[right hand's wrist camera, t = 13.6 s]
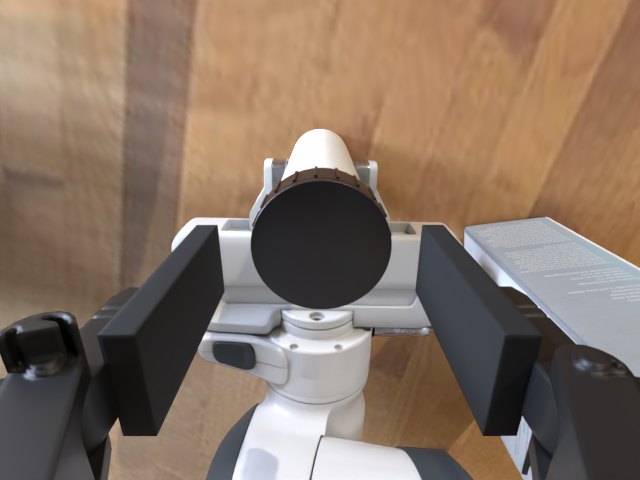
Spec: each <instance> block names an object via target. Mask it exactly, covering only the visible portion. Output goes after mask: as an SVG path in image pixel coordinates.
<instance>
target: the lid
mask: <svg viewBox="0 0 640 480" xmlns="http://www.w3.org/2000/svg"><path fill="white" fill-rule="evenodd" d="M260 208H261V210H260V211H258V213H257V215H256V218H255V220H254V222H253V224H252V226H253V230H252V234H251V243H250V244H251V255H252V260H253V263H254V266H255V268H256V270H257V273H258V274H259V276H260V278H261V279H262V281H263V282H264V283H265V284H266V286H267V287H268V288H269V289H270V290H271V291H272V292H273V293H275V294H276V295H278V296H279V297H280V298H282V299H284V300H285V301H287V302H289V303H292V304H294V305H297V306H300V307H304V308H310V309H333V308H338V307H342V306H345V305H348V304H350V303H353V302H355V301H357V300H358V299H360V298H362V297H363V296H365V295H366V294H367V293H369V292H370V291H371V290H372V289H373V288H374V287H375V286H376V285H377V283H378V282H379V281H380V280H381V278H382V276H383V275H384V273H385V271H386V269H387V267H388V264H389V261H390V257H391V250H392V239H391V236H392V233H391V231H390V228H389V225H388V222H387V220H386V217H387V215H386V213H385V211H384V209H383V207H382V205H381V203H378V201H377V199H376V197H375V195H374V193H373V191H372V189H371V187H369V188H368V187H367V186H366V185H365V184H364V183H363V182H361V181H360V180H359V179H357V176H356V175H353V176H352V175H350V174H348V173H346V172H343V171H340V170H338V168H336V167H335V169H332V168H318V167H317V166H315V168H311V169H306V170H302V171H299V172H298V170H296V171H295V173H294V174H292V175H290V176H288V177H286V178H285V179H284V180H282V181H280V180H279V181H278V182H277V185H276V186H275V187H274V188H273V190H272V191H271V192H270V193H269V195H268V194H266V196H265V198H264V200H263V202H262V204H261V206H260Z"/></svg>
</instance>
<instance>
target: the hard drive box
mask: <svg viewBox="0 0 640 480" xmlns="http://www.w3.org/2000/svg"><path fill="white" fill-rule="evenodd" d="M464 248H465V249H466V250H467V252H468V253H469V254H470V255H471V256H472V257H473V258H474V259H475V260H476V262H477V263H478V264H479V265H480V266H481V267H482V268H483V269H484V270H485V271H486V273H487V274H488V275H489V276H490V277H491V278H492V279H493V280H494V281H495V283H496V284H497V285H498V286H511V287H513V288H515V289H517V290H519V291H520V292H522V293H524V294H526V295H528V296H529V297H530V298H531V299H532V300H533V301H534V302H535V303H536V304H537V305H538V308H541V309H542V310H543V311H544V312H545V313H546V314H547V317H550V318H551V319H552V320H553V321H554V322H555V323H556V324H557V325H558V326H559V327H560V328H561V329H562V330H563V331H564V332H565V333H566V334H567V335H568V336H569V337H570V338H571V339H572V340H573V341H574V342H575V343H576V344H580V345H586V346H590V347H593V348H597V349H600V350H602V351H604V352H606V353H608V354H611V355H613V356H614V357H616V358H617V359H619V360H620V361H622V362H623V363H624V364H625V365H626V366H627V367H628V368H629V369H630V371H631V372H632V373H633V375H634V376H636V377H640V268H639V267H637V266H635V265H633V264H631V263H630V262H628V261H626V260H624V259H622V258H621V257H619V256H617V255H615V254H613V253H612V252H610V251H608V250H606V249H604V248H602V247H601V246H599V245H597V244H595V243H593V242H592V241H590V240H588V239H586V238H584V237H583V236H581V235H579V234H577V233H575V232H574V231H572V230H570V229H568V228H566V227H565V226H563V225H561V224H559V223H557V222H556V221H554V220H552V219H550V218H548V217H542V218H533V219H524V220H515V221H507V222H499V223H490V224H482V225H475V226H468V227H465V231H464ZM531 434H532V431H531V429H530V427H529V426H528V424H527V423H526V421H525V419H524V418H523V416H522V418H521V422H520V425H519V429H518V433H517V436H500V437H501V439H502V441H503V443H504V445H505V446H506V448H507V450H508V452H509V454H510V456H511V458H512V460H513V461H514V463H515V465H516V467H517V469H518V471H519V473H520V474H521V473H522V467H523V463H524V459H525V456H526V452H527V449H528V445H529V441H530V438H531ZM521 476H522V478H523V480H532V472H531V466H530V467H529V470H528V474H527V475H524V474H521Z"/></svg>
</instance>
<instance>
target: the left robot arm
mask: <svg viewBox="0 0 640 480" xmlns="http://www.w3.org/2000/svg"><path fill="white" fill-rule="evenodd" d="M287 165H288V159H274V158H266V160H265V161H264V188H263V190H262V191H261V193H260V195H259V197H258V199H257V201H256V202H255V204H254V206H253V208H252V210H251V211H250V213H249V219H246V218H193V219H192V220H190V221H189V222H188V223H187V224H186V225H185V226H184V227H183V228H182V229H181V230H180V231H179V232H178V234H177V235H176V237H175V238H174V240H173V243H172V252H173V250H174V249H175V248H176V247H177V246H178V245H179V244H180V243H181V242H182V241H183V239H184V238H185V237H186V236H187V235H188V234H189V233H190V232H191V231H192V230H193V228H194V227H195V226H196V225H218V232H219V242H220V251H221V260H222V270H223V279H224V288H225V292H224V294H223V296H222V298H221V300H220V303H219V305H218V307H217V309H216V311H215V313H214V315H213V317H212V320H211V322H210V324H209V326H208V328H207V330H206V332H205V334H204V337H203V339H202V341H201V343H200V345H199V347H198V352H199V355H200V356H201V357H202V358H203V359H204V360H206V361H209V362H212V363H215V364H219V365H223V366H226V367H230V368H234V369H237V370H240V371H243V372H246V373H249V374H252V375H254V376H257V377H259V378H262V379H264V380H265V381H266V384H267V392H266V397H265V400H264V402H263V403H262V404H259V403H258V404H256V405H255V406H253V407H252V408H251V409H250V410H249V411H248V412H247V413H246V414H245V415H244V416H243V417H242V418H241V419H240V420H239V421H238V422H237V423H236V424H235V425H234V426H233V427H232V428H231V429H230V431H229V432H228V433H227V435H226V436H225V438H224V439H223V441H222V442H221V444H220V446H219V448H218V450H217V452H216V454H215V456H214V459H213V461H212V463H211V466H210V469H209V472H208V475H207V478H206V480H473V479H472V477H471V476H470V475H469V474H468V473H467V472H466V471H465V470H464V469H463V468H462V467H461V466H460V464H459V463H458V462H457V461H456V460H454V459H453V458H452V457H451V456H450V455H449V454H448V453H447V452H446V451H444V450H440V449H427V448H414V447H402V446H398V447H396V448H393V447H388V446H382V445H376V444H370V443H364V442H361V439H362V434H363V426H364V418H365V400H364V396H363V393H362V391H363V389H364V387H365V384H366V382H367V378H368V374H369V363H370V352H371V339H372V337H373V336H402V335H409V336H413V337H423V336H428V334H429V332H432V331H434V330H433V328H432V326H431V324H430V322H429V320H428V317H427V315H426V313H425V311H424V309H423V307H422V305H421V303H420V300H419V298H418V296H417V294H416V292H415V288H416V279H417V270H418V260H419V251H420V242H421V232H422V225H444V226H445V227H446V228H447V230H448V231H449V232H450V233H451V234H452V235H453V236H454V237H455V238H456V239H457V241H458V242H459V243H460V244H461V242H460V240H459V239H458V238H457V236H456V235H455V234H454V233H453V232H452V231H451V230H450V229H449V228H448V227H447V226H446V225H445V224H443V223H439V222H391V221H390V216H389V214H388V212H387V210H386V208H385V206H384V204H383V202H382V199H381V197H380V195H379V193H378V191H377V190H376V185H377V172H378V167H377V163H376V161H361V160H354V162H353V165H354V167H355V169H356V172H357V174H358V177H359V179H360V181H361V182H363V183H364V184H365V185H366V186H367V187H368V188H369V187H371V189H372V191H373V193H374V195H375V197H376V199H377V201H378V203H381V205H382V207H383V209H384V211H385V213H386V215H387V217H386V220H387V222H388V225H389V228H390V231H391V233H392V236H391V239H392V250H391V257H390V261H389V264H388V267H387V269H386V271H385V273H384V275H383V276H382V278H381V280H380V281H379V282H378V283H377V285H376V286H375V287H374V288H373V289H372V290H371V291H370V292H369V293H367V294H366V295H365V296H363V297H362V298H360V299H358V300H357V301H355V302H353V303H350V304H348V305H345V306H342V307H338V308H333V309H310V308H304V307H300V306H297V305H294V304H292V303H289V302H287V301H285V300H284V299H282V298H280V297H279V296H278V295H276V294H275V293H273V292H272V291H271V290H270V289H269V288H268V287H267V286H266V284H265V283H264V282H263V281H262V279H261V278H260V276H259V274H258V273H257V270H256V268H255V266H254V263H253V260H252V255H251V244H250V243H251V234H252V230H253V226H252V224H253V222H254V220H255V218H256V215H257V213H258V211H260V210H261V208H260V206H261V204H262V202H263V200H264V198H265V196H266V194H268V195H269V193H270V192H271V191H272V190H273V188H274V187H275V186H276V185H277V182H278V181H279V180H280V181H282V178H283V175H284V173H285V170H286V168H287ZM461 245H462V244H461ZM429 326H430V327H429Z"/></svg>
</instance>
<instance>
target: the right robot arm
mask: <svg viewBox="0 0 640 480" xmlns="http://www.w3.org/2000/svg"><path fill="white" fill-rule="evenodd" d="M224 292H225V288H224V279H223V270H222V260H221V251H220V242H219V232H218V225H196V226H195V227H194V228H193V230H192V231H191V232H190V233H189V234H188V235H187V236H186V237H185V238H184V239H183V241H182V242H181V243H180V244H179V245H178V246H177V247H176V248H175V249H174V250H173V252H172V253H171V254H170V255H169V256H168V257H167V258H166V259H165V260H164V262H163V263H162V264H161V265H160V266H159V267H158V268H157V269H156V270H155V271H154V273H153V274H152V275H151V276H150V277H149V278H148V279H147V280H146V281H145V283H144V284H143V285H142V286H141V287H140V288H128V289H126V290H124V291H122V292H120V293H119V294H117V295H115V296H113V297H112V298H111V299H110V300H109V301H108V302H107V303H106V304H105V305H104V306H103V307H102V310H99V311H98V312H97V313H96V314H95V315H94V316H93V319H90V320H89V321H88V322H87V323H86V324H85V325H84V326H83V327H82V328H81V329H80V330H79V328H78V325H77V321H76V318H75V316H73V315H72V314H70V313H67V312H60V311H57V312H46V313H41V314H37V315H33V316H30V317H27V318H25V319H22V320H20V321H17V322H15V323H13V324H11V325H10V326H8V327H6V328H5V329H3V330H2V331H1V332H0V354H1V357H2V360H3V362H4V365H5V367H6V370H7V373H8V374H7V376H6V378H3V379H0V480H108V473H109V465H110V458H111V450H112V448H111V442H110V438H109V434H108V433H109V431H110V429H111V428H112V426H113V425H114V423H115V421H116V420H117V418H119V422H120V425H121V429H122V433H123V436H157V434H158V432H159V430H160V428H161V426H162V424H163V422H164V420H165V417H166V415H167V413H168V411H169V409H170V407H171V405H172V403H173V400H174V398H175V396H176V394H177V392H178V390H179V388H180V385H181V383H182V381H183V379H184V377H185V375H186V373H187V371H188V368H189V366H190V364H191V362H192V360H193V358H194V356H195V354H196V351H197V349H198V347H199V345H200V343H201V341H202V339H203V337H204V334H205V332H206V330H207V328H208V326H209V324H210V322H211V320H212V317H213V315H214V313H215V311H216V309H217V307H218V305H219V303H220V300H221V298H222V296H223V294H224ZM415 292H416V294H417V296H418V298H419V300H420V303H421V305H422V307H423V309H424V311H425V313H426V315H427V317H428V320H429V322H430V324H431V326H432V328H433V330H434V332H435V334H436V337H437V339H438V341H439V343H440V345H441V347H442V349H443V351H444V354H445V356H446V358H447V360H448V362H449V364H450V366H451V368H452V371H453V373H454V375H455V377H456V379H457V381H458V383H459V385H460V388H461V390H462V392H463V394H464V396H465V398H466V400H467V403H468V405H469V407H470V409H471V411H472V413H473V415H474V417H475V420H476V422H477V424H478V426H479V428H480V430H481V432H482V434H483V436H517V433H518V429H519V425H520V422H521V418H522V416H523V418H524V419H525V421H526V423H527V424H528V426H529V427H530V429H531V431H532V434H531V438H530V441H529V445H528V449H527V452H526V456H525V459H524V463H523V467H522V473H521V474H524V475H527V474H528V470H529V467H530V466H531V472H532V480H640V377H636V376H634V375H633V373H632V372H631V371H630V369H629V368H628V367H627V366H626V365H625V364H624V363H623V362H622V361H620V360H619V359H617V358H616V357H614V356H613V355H611V354H608V353H606V352H604V351H602V350H600V349H597V348H593V347H590V346H586V345H580V344H576V343H575V342H574V341H573V340H572V339H571V338H570V337H569V336H568V335H567V334H566V333H565V332H564V331H563V330H562V329H561V328H560V327H559V326H558V325H557V324H556V323H555V322H554V321H553V320H552V319H551V318H550V317H547V314H546V313H545V312H544V311H543V310H542V309H541V308H538V305H537V304H536V303H535V302H534V301H533V300H532V299H531V298H530V297H529V296H528V295H526V294H524V293H522V292H520V291H519V290H517V289H515V288H513V287H511V286H498V285H497V284H496V283H495V281H494V280H493V279H492V278H491V277H490V276H489V275H488V274H487V273H486V271H485V270H484V269H483V268H482V267H481V266H480V265H479V264H478V263H477V262H476V260H475V259H474V258H473V257H472V256H471V255H470V254H469V253H468V252H467V250H466V249H465V248H464V247H463V246H462V245H461V244H460V243H459V242H458V241H457V239H456V238H455V237H454V236H453V235H452V234H451V233H450V232H449V231H448V230H447V228H446V227H445V226H444V225H422V232H421V242H420V251H419V260H418V270H417V279H416V288H415Z"/></svg>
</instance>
